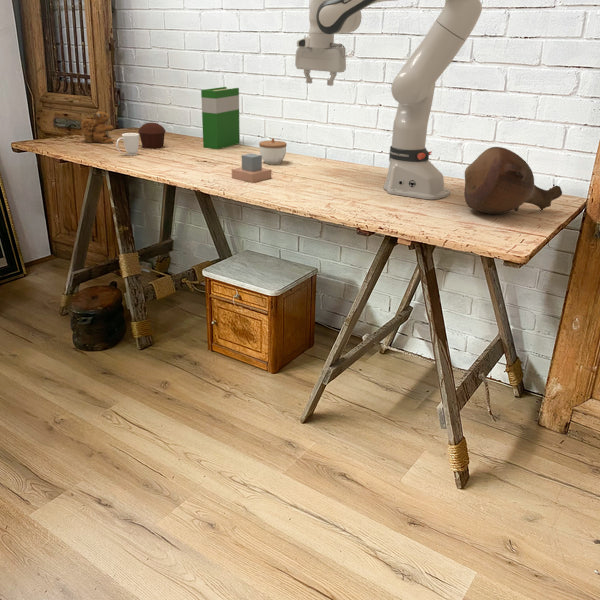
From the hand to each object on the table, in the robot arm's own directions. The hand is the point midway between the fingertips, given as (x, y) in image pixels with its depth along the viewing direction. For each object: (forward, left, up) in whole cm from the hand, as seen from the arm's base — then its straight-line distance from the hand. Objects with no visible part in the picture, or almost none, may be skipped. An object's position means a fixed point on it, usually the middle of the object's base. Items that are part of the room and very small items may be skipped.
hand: (319, 84), depth 221 cm
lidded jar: (+22, 0, -31) cm, 38 cm away
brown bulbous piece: (-76, +3, -31) cm, 82 cm away
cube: (+10, +25, -28) cm, 39 cm away
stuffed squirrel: (+106, +23, -31) cm, 112 cm away
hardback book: (+62, -11, -31) cm, 70 cm away
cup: (+73, +31, -31) cm, 85 cm away
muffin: (+80, +13, -31) cm, 87 cm away
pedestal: (+10, +25, -31) cm, 41 cm away
